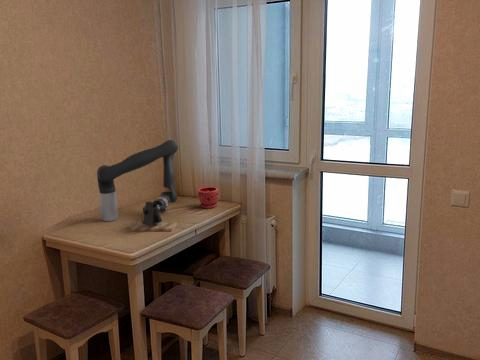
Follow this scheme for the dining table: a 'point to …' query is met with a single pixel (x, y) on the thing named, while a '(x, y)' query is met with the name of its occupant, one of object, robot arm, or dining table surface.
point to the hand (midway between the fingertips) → (150, 212)
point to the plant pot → (208, 197)
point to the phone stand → (151, 214)
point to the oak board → (153, 227)
